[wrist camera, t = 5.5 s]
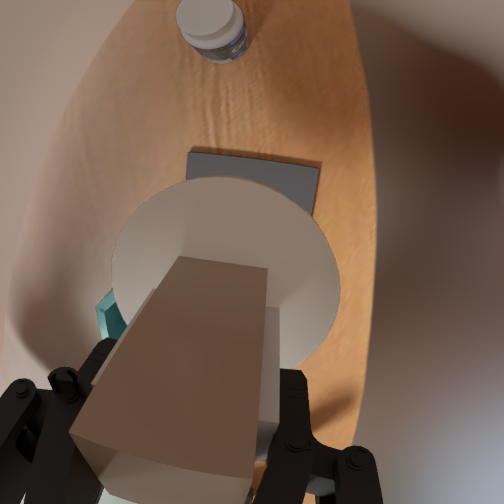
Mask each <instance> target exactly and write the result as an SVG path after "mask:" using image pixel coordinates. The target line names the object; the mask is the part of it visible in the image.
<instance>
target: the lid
mask: <svg viewBox="0 0 504 504" xmlns="http://www.w3.org/2000/svg"><path fill="white" fill-rule="evenodd" d="M111 281H112V287H113V293H114V297H115V300H116V303H117V306H118V308H119V311H120V313H121V315H122V317H123V319H124V321H125V322H126V324H127V326H128V324H129V323H130V321H131V320H132V318H133V317H134V315H135V314H136V312H137V311H138V309H139V308H140V307H141V305H142V304H143V302H144V301H145V299H146V298H147V296H148V295H149V293H150V292H151V290H152V289H153V288H155V289H156V290H155V291H154V293H153V294H152V296H151V297H150V299H149V300H148V302H147V303H146V305H145V306H144V308H143V309H142V311H141V313H140V314H139V316H138V317H137V319H136V320H135V322H134V323H133V325H132V326H131V328H130V329H129V331H128V333H127V334H126V336H125V337H124V339H123V341H122V342H121V344H120V345H119V347H118V348H117V350H116V352H115V353H114V355H113V357H112V358H111V360H110V361H109V363H108V365H107V366H106V368H105V370H104V371H103V373H102V375H101V376H100V378H99V380H98V381H97V383H96V385H95V386H94V388H93V390H92V391H91V393H90V395H89V397H88V398H87V400H86V402H85V403H84V405H83V407H82V409H81V410H80V412H79V414H78V416H77V417H76V419H75V421H74V423H73V425H72V426H71V428H70V430H69V434H70V435H71V437H72V439H73V441H74V442H75V444H76V446H77V447H78V449H79V450H80V452H81V454H82V455H83V457H84V458H85V460H86V461H87V463H88V464H89V466H90V467H91V469H92V470H93V472H94V473H95V475H96V476H97V478H98V479H99V480H100V482H101V483H102V485H103V486H104V487H105V489H106V490H107V491H108V493H109V494H111V495H114V496H117V497H120V498H122V499H125V500H128V501H131V502H135V503H138V504H244V503H245V500H246V498H247V495H248V492H249V489H250V487H251V484H252V481H253V475H254V463H255V451H256V438H257V425H258V412H259V398H260V385H261V370H262V355H263V340H264V324H265V308H266V306H271V307H278V308H279V310H280V368H283V369H292V368H294V367H295V366H297V365H299V364H300V363H301V362H303V361H304V360H306V359H307V358H308V357H309V356H310V355H311V354H312V353H313V352H314V351H316V350H317V349H318V347H319V346H320V345H321V344H322V342H323V341H324V340H325V338H326V337H327V335H328V333H329V332H330V330H331V328H332V326H333V323H334V321H335V318H336V316H337V312H338V307H339V303H340V289H341V288H340V277H339V271H338V267H337V263H336V260H335V257H334V255H333V252H332V250H331V248H330V245H329V243H328V241H327V238H326V237H325V235H324V233H323V232H322V230H321V228H320V227H319V225H318V224H317V223H316V221H315V220H314V219H313V218H312V217H311V215H310V214H309V213H308V212H307V211H306V210H305V209H304V208H303V207H302V206H300V205H299V204H298V203H297V202H296V201H295V200H293V199H292V198H290V197H289V196H287V195H286V194H284V193H283V192H281V191H279V190H277V189H275V188H273V187H271V186H269V185H267V184H264V183H261V182H258V181H255V180H252V179H248V178H242V177H237V176H225V175H213V176H202V177H197V178H193V179H189V180H185V181H182V182H180V183H177V184H175V185H172V186H170V187H168V188H167V189H165V190H163V191H162V192H160V193H158V194H157V195H155V196H153V197H152V198H150V199H149V200H148V201H146V202H145V203H144V204H143V205H142V206H140V207H139V208H138V209H137V210H136V211H135V212H134V214H133V215H132V216H131V217H130V218H129V219H128V221H127V222H126V224H125V226H124V227H123V229H122V230H121V232H120V235H119V237H118V239H117V242H116V244H115V248H114V252H113V256H112V265H111Z"/></svg>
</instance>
